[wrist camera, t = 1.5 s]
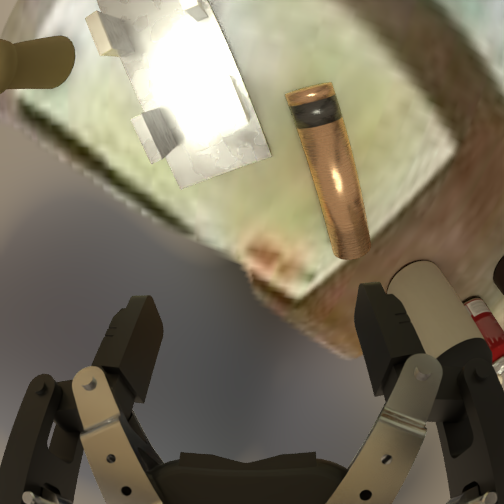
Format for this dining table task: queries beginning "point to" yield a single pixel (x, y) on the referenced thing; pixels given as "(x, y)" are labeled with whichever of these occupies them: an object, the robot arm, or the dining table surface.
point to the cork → (35, 63)
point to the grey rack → (182, 85)
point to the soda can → (488, 330)
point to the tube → (331, 168)
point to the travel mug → (439, 316)
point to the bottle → (500, 275)
